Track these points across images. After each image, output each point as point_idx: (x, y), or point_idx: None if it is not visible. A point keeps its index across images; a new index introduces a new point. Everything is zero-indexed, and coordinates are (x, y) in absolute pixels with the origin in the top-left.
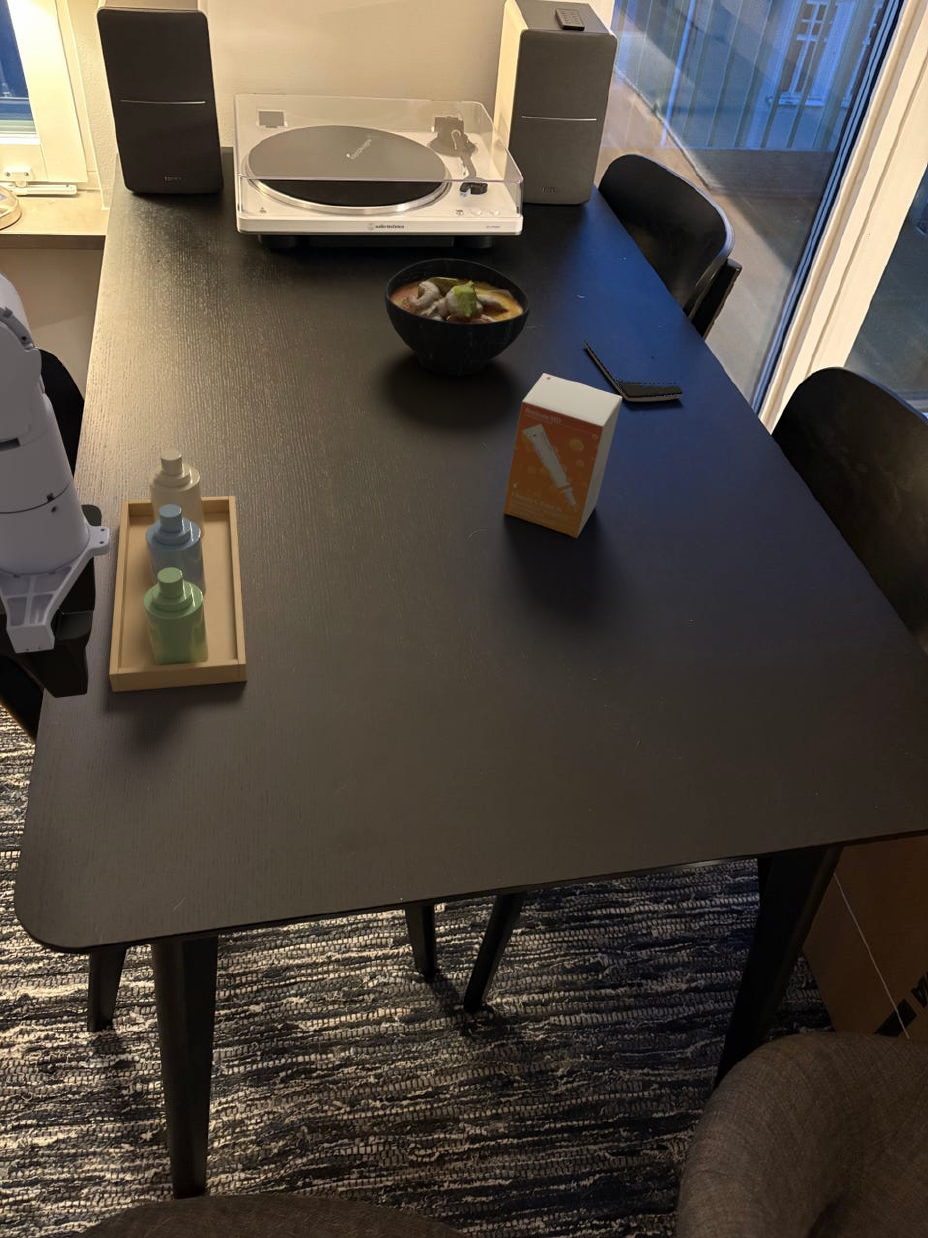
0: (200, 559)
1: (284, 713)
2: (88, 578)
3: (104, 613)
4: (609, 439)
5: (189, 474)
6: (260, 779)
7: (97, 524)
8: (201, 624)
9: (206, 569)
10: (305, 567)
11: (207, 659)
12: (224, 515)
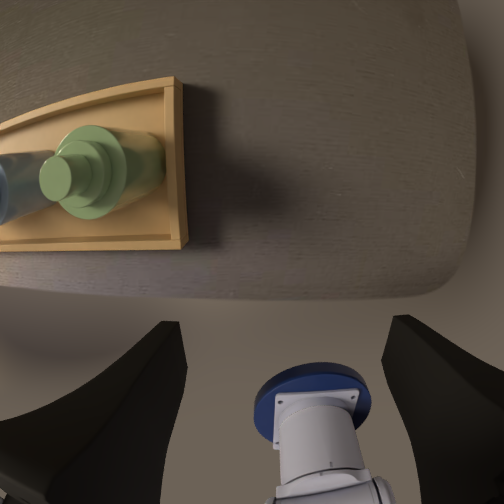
0: (15, 153)
1: (241, 41)
2: (148, 377)
3: (77, 256)
4: None
5: None
6: (341, 74)
7: (39, 498)
8: (121, 129)
9: None
10: (29, 55)
11: (146, 131)
12: None
